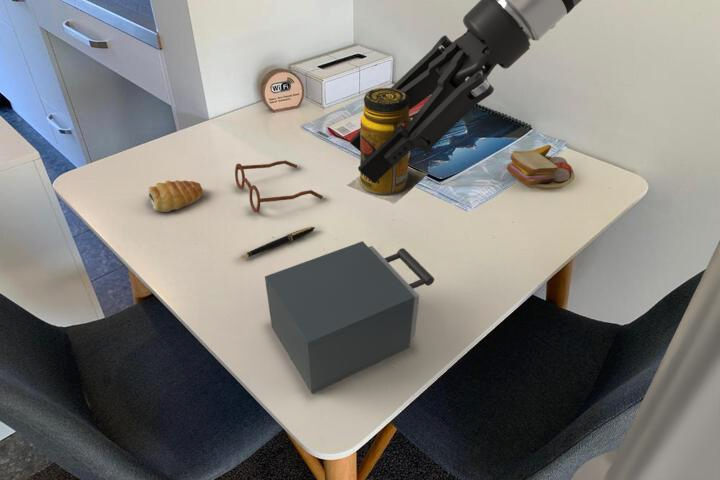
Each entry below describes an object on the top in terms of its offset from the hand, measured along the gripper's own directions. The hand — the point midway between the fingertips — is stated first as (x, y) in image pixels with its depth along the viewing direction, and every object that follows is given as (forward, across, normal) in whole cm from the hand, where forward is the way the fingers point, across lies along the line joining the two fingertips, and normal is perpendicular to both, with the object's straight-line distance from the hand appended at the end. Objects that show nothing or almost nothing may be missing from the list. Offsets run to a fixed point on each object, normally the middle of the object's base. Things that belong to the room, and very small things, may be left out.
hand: (361, 161), depth 65 cm
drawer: (+16, -7, -14) cm, 22 cm away
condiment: (0, +1, -5) cm, 5 cm away
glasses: (+23, +29, -8) cm, 38 cm away
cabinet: (+19, -9, -13) cm, 24 cm away
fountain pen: (+24, +12, -7) cm, 28 cm away
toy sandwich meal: (-13, +27, -44) cm, 53 cm away
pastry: (+37, +28, +6) cm, 47 cm away
